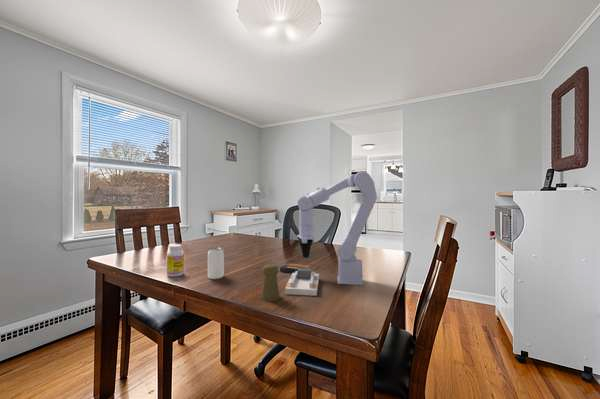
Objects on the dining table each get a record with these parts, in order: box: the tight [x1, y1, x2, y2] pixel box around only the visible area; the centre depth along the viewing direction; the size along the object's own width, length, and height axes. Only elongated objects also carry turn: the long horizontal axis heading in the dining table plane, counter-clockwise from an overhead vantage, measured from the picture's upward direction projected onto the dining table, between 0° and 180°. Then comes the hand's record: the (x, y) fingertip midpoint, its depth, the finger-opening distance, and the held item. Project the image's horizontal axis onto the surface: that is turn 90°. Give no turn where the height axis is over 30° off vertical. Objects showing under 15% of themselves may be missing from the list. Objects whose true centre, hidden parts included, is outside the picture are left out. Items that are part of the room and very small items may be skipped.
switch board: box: [284, 271, 320, 296], centre depth 95 cm, size 11×18×4 cm, turn 173°
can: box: [207, 247, 225, 280], centre depth 106 cm, size 6×6×12 cm
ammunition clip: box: [279, 263, 311, 274], centre depth 117 cm, size 11×2×12 cm
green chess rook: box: [261, 263, 280, 302], centre depth 84 cm, size 6×6×11 cm
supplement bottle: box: [166, 243, 185, 278], centre depth 109 cm, size 7×7×13 cm
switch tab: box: [297, 267, 312, 279], centre depth 99 cm, size 5×4×3 cm
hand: (306, 257), depth 106 cm, fingers closed
